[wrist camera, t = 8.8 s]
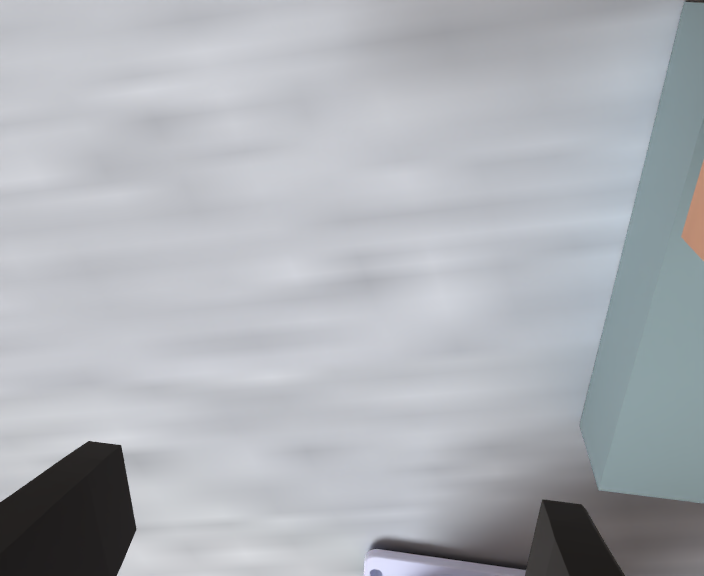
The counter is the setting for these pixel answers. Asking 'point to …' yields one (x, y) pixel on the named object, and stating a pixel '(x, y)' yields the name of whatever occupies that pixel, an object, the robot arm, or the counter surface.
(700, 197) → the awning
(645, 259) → the socket block
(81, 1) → the counter surface
